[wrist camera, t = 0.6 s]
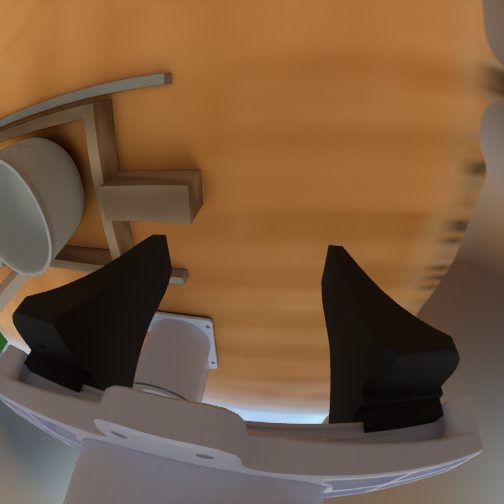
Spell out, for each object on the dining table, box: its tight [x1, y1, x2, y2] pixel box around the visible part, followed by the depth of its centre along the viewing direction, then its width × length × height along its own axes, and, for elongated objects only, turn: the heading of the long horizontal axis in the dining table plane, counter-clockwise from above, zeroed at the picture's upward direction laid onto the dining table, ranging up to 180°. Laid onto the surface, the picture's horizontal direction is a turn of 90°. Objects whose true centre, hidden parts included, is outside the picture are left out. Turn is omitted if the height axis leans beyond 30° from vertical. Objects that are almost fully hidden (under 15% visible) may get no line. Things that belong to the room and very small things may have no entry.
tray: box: [0, 99, 203, 272], centre depth 20 cm, size 15×25×3 cm, turn 89°
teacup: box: [0, 138, 84, 276], centre depth 19 cm, size 14×11×8 cm
